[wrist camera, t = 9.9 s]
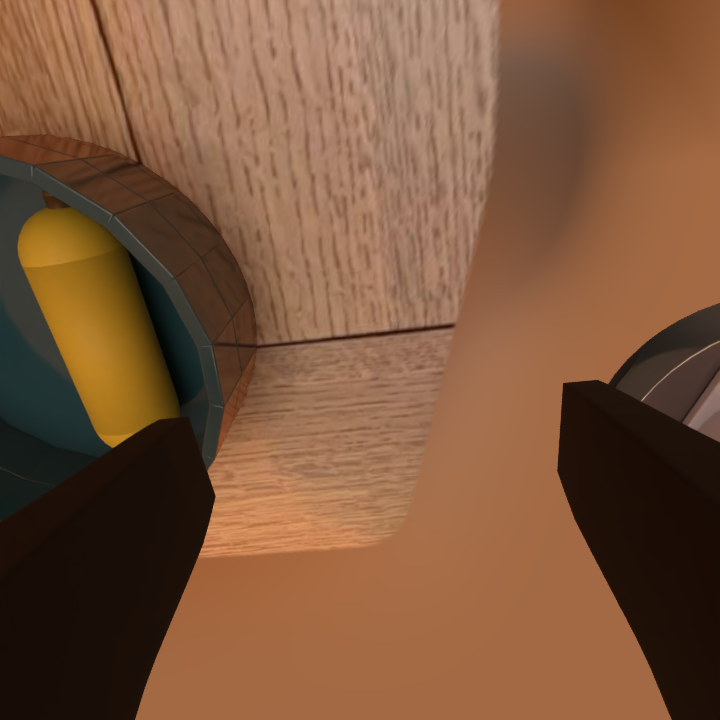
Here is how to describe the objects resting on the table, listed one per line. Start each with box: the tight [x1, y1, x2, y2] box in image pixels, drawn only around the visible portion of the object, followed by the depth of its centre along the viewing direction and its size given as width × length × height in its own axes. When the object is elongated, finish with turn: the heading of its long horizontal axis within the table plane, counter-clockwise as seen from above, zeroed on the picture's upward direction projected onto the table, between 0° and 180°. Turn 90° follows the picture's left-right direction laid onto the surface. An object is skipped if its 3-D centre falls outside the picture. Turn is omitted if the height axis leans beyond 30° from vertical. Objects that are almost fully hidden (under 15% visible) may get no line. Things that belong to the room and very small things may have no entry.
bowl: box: [0, 135, 257, 522], centre depth 18 cm, size 14×14×5 cm
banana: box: [17, 190, 180, 448], centre depth 18 cm, size 10×3×3 cm
